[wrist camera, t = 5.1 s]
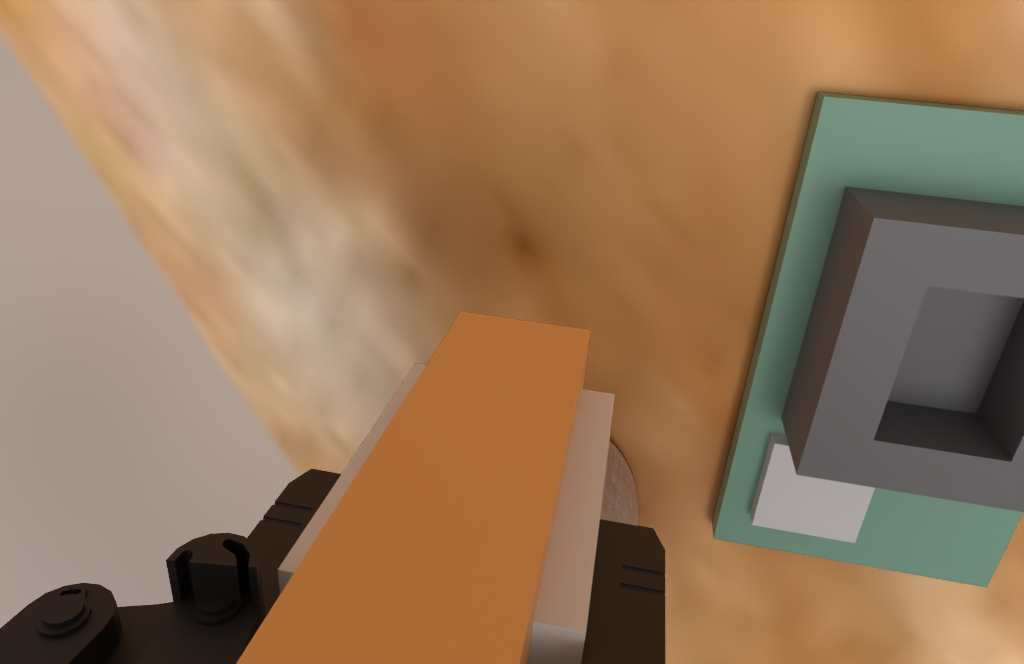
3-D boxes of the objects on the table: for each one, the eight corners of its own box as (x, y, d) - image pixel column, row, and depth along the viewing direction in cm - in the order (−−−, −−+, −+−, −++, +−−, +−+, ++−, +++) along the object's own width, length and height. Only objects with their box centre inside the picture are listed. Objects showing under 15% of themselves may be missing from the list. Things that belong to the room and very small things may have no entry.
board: (976, 568, 33) (1026, 661, 29) (711, 521, 35) (719, 602, 30) (1185, 126, 25) (1305, 159, 20) (817, 91, 26) (850, 114, 22)
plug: (569, 491, 18) (478, 977, 9) (453, 470, 19) (257, 916, 10) (591, 330, 16) (500, 746, 7) (460, 311, 17) (223, 683, 8)
